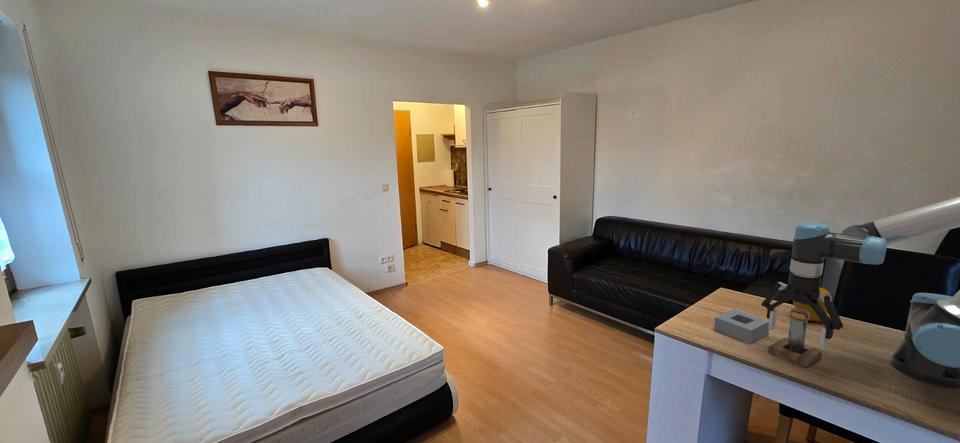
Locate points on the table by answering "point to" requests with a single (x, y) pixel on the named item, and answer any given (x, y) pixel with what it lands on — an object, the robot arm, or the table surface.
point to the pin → (797, 330)
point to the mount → (803, 359)
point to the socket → (741, 326)
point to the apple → (806, 307)
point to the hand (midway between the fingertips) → (796, 337)
